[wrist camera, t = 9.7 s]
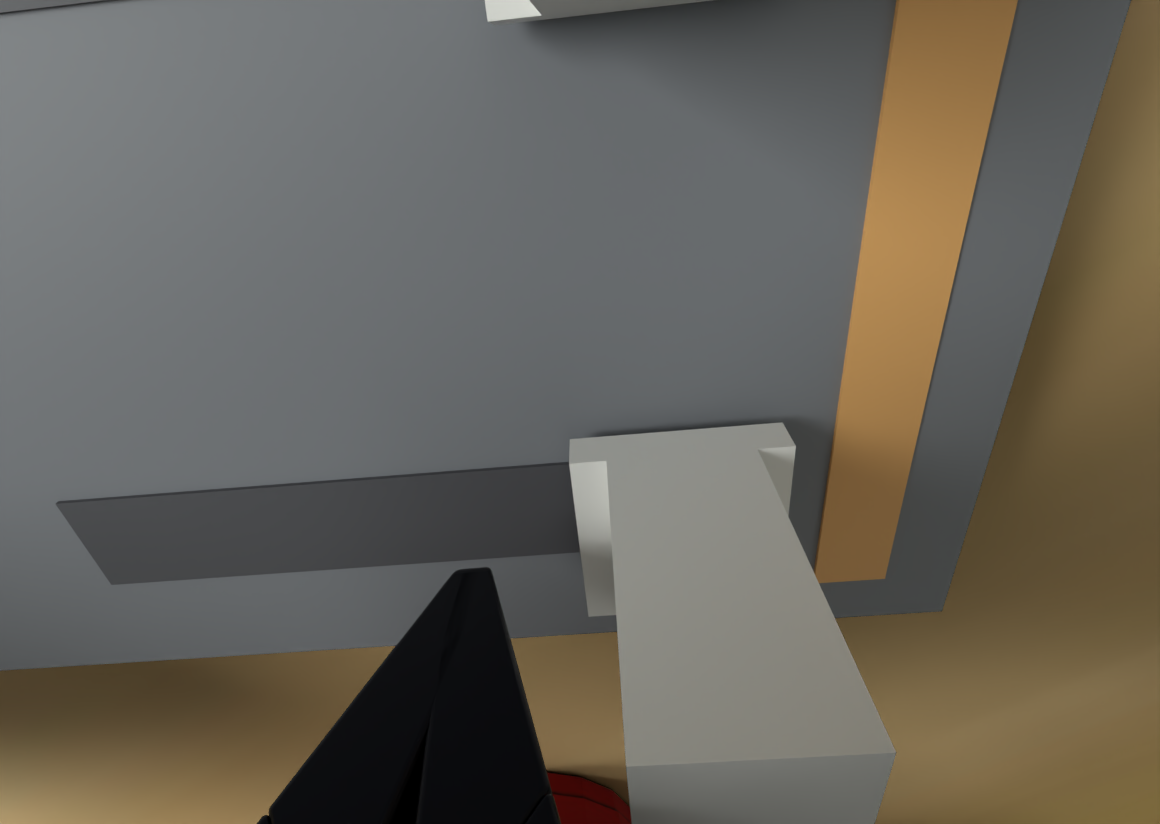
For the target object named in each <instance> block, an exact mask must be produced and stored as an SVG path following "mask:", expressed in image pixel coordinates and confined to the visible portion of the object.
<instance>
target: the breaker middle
mask: <svg viewBox="0 0 1160 824" xmlns="http://www.w3.org/2000/svg"><path fill="white" fill-rule="evenodd" d="M704 1H712V0H485V7H486V14H487V20H488V22H490V23H492V24H494V25H501V24H510V23H519V22H528V21H537V20H545V19H554V18H563V17H572V16H581V15H589V14H598V13H607V12H616V11H624V10H633V9H642V8H651V7H660V6H668V5H677V4H686V3H695V2H704Z"/></svg>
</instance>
